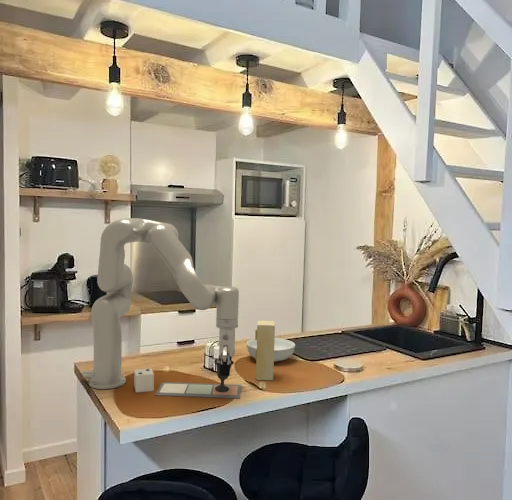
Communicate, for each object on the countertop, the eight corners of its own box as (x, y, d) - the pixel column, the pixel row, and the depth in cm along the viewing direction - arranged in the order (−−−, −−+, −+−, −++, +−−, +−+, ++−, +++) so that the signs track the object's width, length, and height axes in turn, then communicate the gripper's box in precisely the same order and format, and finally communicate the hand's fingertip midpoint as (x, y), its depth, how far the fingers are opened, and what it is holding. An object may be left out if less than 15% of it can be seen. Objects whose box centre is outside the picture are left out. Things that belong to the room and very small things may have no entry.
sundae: (228, 394, 164) (232, 353, 162) (210, 391, 165) (213, 350, 163) (233, 386, 171) (237, 346, 168) (215, 383, 172) (218, 343, 169)
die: (135, 392, 164) (136, 375, 164) (134, 386, 170) (134, 369, 169) (153, 390, 166) (153, 373, 166) (151, 384, 172) (151, 368, 171)
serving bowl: (304, 359, 207) (305, 344, 207) (272, 370, 192) (272, 353, 191) (268, 349, 221) (269, 334, 221) (235, 358, 206) (236, 342, 206)
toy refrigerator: (254, 373, 188) (256, 320, 186) (273, 373, 188) (275, 320, 186) (253, 380, 180) (255, 324, 178) (273, 380, 180) (275, 325, 178)
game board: (154, 395, 162) (154, 394, 162) (162, 382, 174) (162, 381, 174) (239, 398, 162) (239, 397, 162) (241, 385, 174) (241, 384, 174)
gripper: (236, 328, 157) (235, 379, 159) (239, 317, 175) (237, 363, 176) (213, 328, 157) (212, 379, 159) (218, 316, 175) (217, 362, 176)
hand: (225, 370), depth 167 cm, fingers open, 9 cm apart
